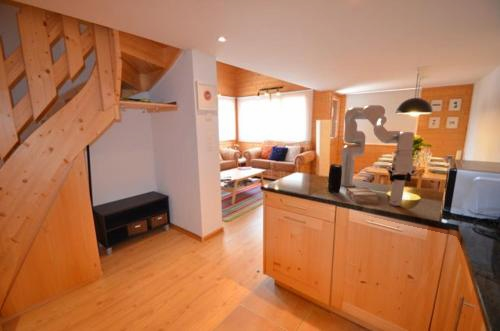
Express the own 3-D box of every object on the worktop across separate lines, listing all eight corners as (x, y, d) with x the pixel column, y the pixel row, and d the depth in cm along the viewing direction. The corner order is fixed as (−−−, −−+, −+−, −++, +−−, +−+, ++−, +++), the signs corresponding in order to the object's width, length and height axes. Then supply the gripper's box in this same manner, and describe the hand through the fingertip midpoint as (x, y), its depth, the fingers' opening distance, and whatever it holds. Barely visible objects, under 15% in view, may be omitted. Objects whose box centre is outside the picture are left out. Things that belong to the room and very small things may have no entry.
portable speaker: (332, 194, 158) (335, 166, 154) (324, 189, 167) (326, 164, 163) (343, 193, 161) (345, 166, 156) (334, 188, 170) (337, 163, 165)
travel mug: (395, 207, 136) (401, 175, 132) (386, 203, 142) (391, 172, 138) (403, 206, 138) (409, 174, 133) (394, 202, 144) (399, 172, 140)
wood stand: (345, 194, 157) (346, 187, 156) (365, 194, 157) (366, 188, 156) (355, 202, 144) (356, 194, 142) (377, 202, 144) (378, 195, 143)
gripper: (393, 154, 129) (389, 182, 132) (423, 154, 129) (418, 182, 133) (385, 152, 136) (381, 179, 140) (413, 152, 136) (409, 179, 140)
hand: (399, 181), depth 136 cm, fingers open, 9 cm apart
